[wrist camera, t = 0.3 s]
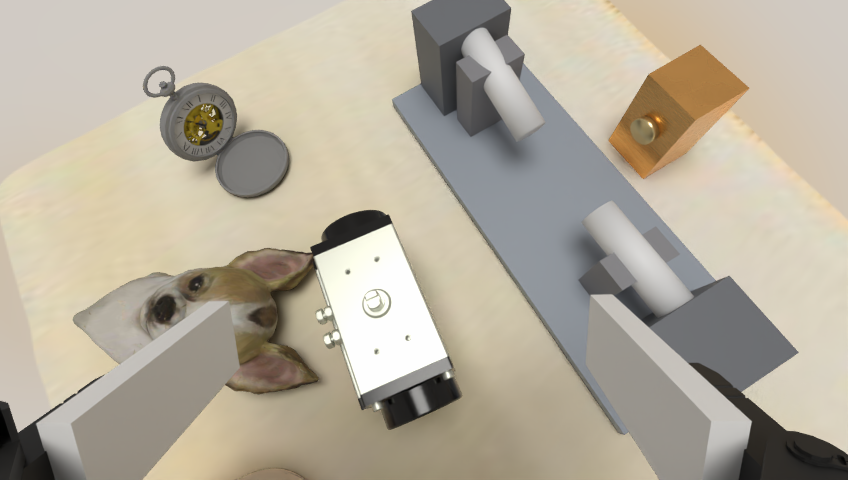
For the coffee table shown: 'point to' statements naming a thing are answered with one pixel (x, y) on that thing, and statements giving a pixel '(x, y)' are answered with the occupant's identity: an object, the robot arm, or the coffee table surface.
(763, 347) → the shaft rig
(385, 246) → the pneumatic valve
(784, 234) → the coffee table surface
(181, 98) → the pocket watch
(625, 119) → the universal joint coupler
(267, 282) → the ceramic sculpture
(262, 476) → the teacup with lid
